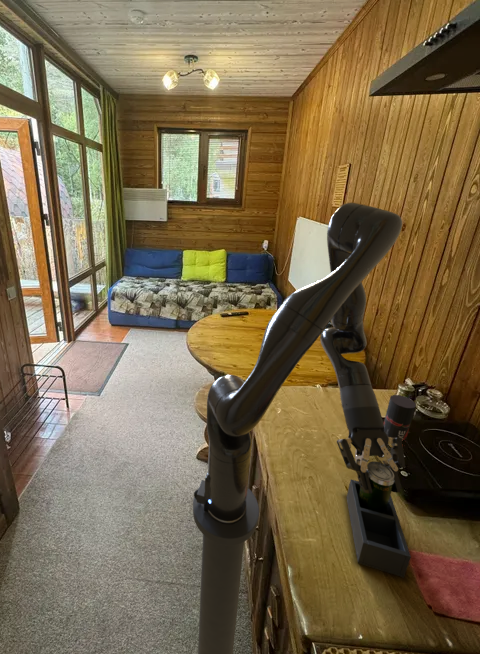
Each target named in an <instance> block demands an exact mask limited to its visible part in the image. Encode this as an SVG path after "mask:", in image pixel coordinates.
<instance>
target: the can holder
mask: <svg viewBox="0 0 480 654" xmlns="http://www.w3.org/2000/svg"><path fill="white" fill-rule="evenodd" d="M359 491H360V484H359V480H355V479H350V480H349V485H348V489H347V493H346V496H345V497H346V503H347V509H348V514H349V520H350V521H349V522H350V527H351V532H352V538H353V543H354V549H355V554H356V561H357V564H360V565H362V566H366V567H368V568H372V569H375V570H378V571H381V572H385V573H388V574H391V575H394V576H397V577H401V578H405V576H406V573H407V570H408V567H409V564H410V561H411V558H412V555H411V553H410V549H409V547H408V543H407V540H406V537H405V534H404V532H403V528H402V525H401V523H400V518H399V516H398V514H397V510H396V507H395V504H394V501H393V498H392V494H391V495H390V498H389V502H388V505H387V508H386V512H385V514H383V513H379V512H375V511H372V510H368V509H364V508H361V507H360V504H359V500H358V495H359Z"/></svg>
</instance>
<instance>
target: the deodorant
mask: <svg viewBox="0 0 480 654" xmlns="http://www.w3.org/2000/svg"><path fill="white" fill-rule="evenodd" d="M416 407H417V404H416V403H415V402H414V400H412V399H411V398H409V397H407V396H405V395H400V394H392V395H390V397H389V401H388V405H387V409H386V413H385V415H384V416H385V417H384V420H383V423H384V431H385V433H386V434H387V436H388V437H392V438H401V439H402V441H403V440H405V439H406V440H407V437H408V434H409V431H410V428H411V424H412V420H413V416H414V413H415V410H416Z"/></svg>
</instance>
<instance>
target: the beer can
mask: <svg viewBox="0 0 480 654" xmlns="http://www.w3.org/2000/svg"><path fill="white" fill-rule="evenodd" d="M366 473H368V476H369V480H370V484H371V488H372V493H364V491H363V490H362V489H361V487H360V491H359V495H358V500H359V504H360V507H361V508H364V509H368V510H372V511H375V512H379V513H383V514H385V512H386V508H387V505H388V502H389V498H390V495H391V496H392V488H393V485H394V473H393V472H392V470H391V469H390V468H389V467H388V466H386V465H384V464H382V462H381V461H380V462H379V461H376V460H375V461H368V462H367V470H366Z"/></svg>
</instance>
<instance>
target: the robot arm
mask: <svg viewBox="0 0 480 654" xmlns="http://www.w3.org/2000/svg"><path fill="white" fill-rule="evenodd" d="M402 229H403V220H402V217H401V216H400V215H399V214H397V213H395V212H392V211H389V210H386V209H382V208H379V207H375V206H370V205H365V204H362V203H358V202H346V203H343V204H341V206H339V207H338V208H337V209H336V210H335V212H334V213H333V214H332V216H331V218H330V219H329V223H328V226H327V231H326V244H327V253H328V263H329V270H330V273H329V274H328V275H326V276H324V277H322V278H320V279H318V280H316V281H314V282H312V283H309V284H307V285H305V286H302V287H301V288H299V289H297V290H295V291H293V292H292V293H290V294H289V295H288V296H287V297H286V298H284V300H283V301H282V303H281V304H280V305H279V307H278V308H277V309H276V311H275V312H274V314H273V315H272V316H271V318H270V319H269V321H268V322H267V325H266V326H265V330H264V333H263V337H262V341H261V344H260V349H259V354H258V356H257V360H256V363H255V365H254V367H253V369H252V370H251V372H250V373H249V375H248V377H247V378H246V379H245V380H244V379H242V378H241V377H240V376H238V375H235V374H226V375H225V374H224V375H222V376H219V377H218V378H217V379H215V380H214V382H213V383H212V385H210V387H209V390H208V393H207V399H206V431H207V436H208V458H207V459H208V461H207V472H206V475H205V478H204V480H203V479H201V480H200V484H199V486H198V488H199V489H198V488H197V489H196V490H194V492H193V498H194V497H195V499H196V500H197V502H198V503H201V504H204V511H206V512H208V513H209V514H210V516H211V517H212V518H213V519H214V520H216V521H217V522H219V523H222V524H234V523H236V522H238V521H240V520H241V519H242V518H243V516H244V514H245V511H246V497H247V490H248V488H249V486H248V485H249V474H250V465H251V457H252V456H251V454H252V445H253V442H252V441H253V440H252V435H251V433H250V432H251V431H253V430H254V429H255V428H256V427H257V425H258V424H259V423H260V421H262V419H263V418H264V415H265V414H266V412H267V411H268V409H269V407H270V406H271V405H272V403H273V401H274V399H275V398H276V396H277V394H278V393H279V391H280V389H281V388H282V386H283V385H284V383H285V382H286V380H287V379H288V377H289V376H290V375H291V374H292V372H293V371H294V369H295V368H296V367H297V365H298V364H299V363H300V361H301V360H302V358H303V357H304V356H305V354H306V353H307V352H308V351H309V350H310V348H311V347H312V346H313V345H314V343H315V342H316V341H317V340H318V338H319V341H320V345H321V348H322V349H323V352H324V353H325V355H326V357H327V358H328V360H329V362H330V363H331V366H332V368H333V371H334V373H335V377H336V382H337V385H338V389H339V390H338V391H339V398H340V403H341V408H342V411H343V416H344V420H345V425H346V429H347V431H348V435H347V436H348V437H346V438H339V439H337V440H336V445H337V446H338V449H339V452H340V454H341V457H342V459H343V462H344V464H345V467H346V469H348V470H352V471H354V472H356V476H357V479H358V480H357V481H359V484H360V487H361V489H362V490H363V491H364V493H372V488H371V484H370V480H369V476H368V473H366V470H367V465H368V463H369V462H370V457H376V458H377V459H378V461H380V463H382V464H384V465H386V466H388V467H389V468H390V469H391V470H392V472H393V473H394V485H393V488H392V491H391V493H395V494H397V493H398V494H399V493H401V490H402V484H401V480H400V477H399V472H398V471H399V470H401V469H405V468H406V460H405V454H404V453H405V452H404V448H403V444H402V439H401V438H392V437H388V436H387V434H386V433H385V431H384V420H383V416H382V412H381V410H380V406H379V403H378V399H377V396H376V393H375V391H374V388H373V386H372V382H371V379H370V375H369V371H368V368H367V366H366V364H365V363H364V362H361V361H358V360H350V359H347V358H345V357H344V356H343V355H348V354H349V355H351V354H359V353H362V352H363V351H364V350H365V349H366V347H367V345H368V340H367V336H366V333H365V327H364V316H365V312H366V308H367V307H366V306H367V294H366V290H365V288H364V285H363V281H364V280H365V279H366V278H367V276H369V275H370V274H371V272H372V271H373V270H374V269H375V268H376V267H377V266H378V265H379V264H380V262H381V261H382V260H383V259H384V258H385V256H386V255H388V253H389V252H390V250H391V249H392V247H393V246H394V245H395V244H396V241H397V239H398V238H399V236H400V234H401V232H402ZM330 323H331V325H332V326H333V327H327V326H328V325H329V324H330ZM387 444H388V445H389V446H390V447H391V452H390V451H388V449H387V448H386V447H387ZM352 447H353V448H354V449H355V452H354V454H353V452H352V450H351V449H352Z"/></svg>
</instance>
